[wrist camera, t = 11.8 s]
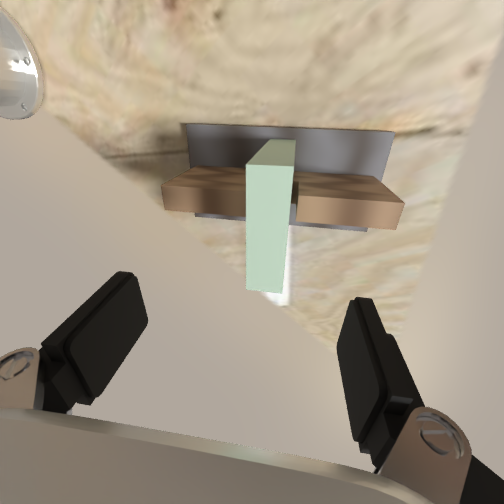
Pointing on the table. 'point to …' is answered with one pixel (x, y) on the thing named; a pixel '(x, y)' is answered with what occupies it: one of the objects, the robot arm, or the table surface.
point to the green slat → (268, 214)
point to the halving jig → (304, 176)
